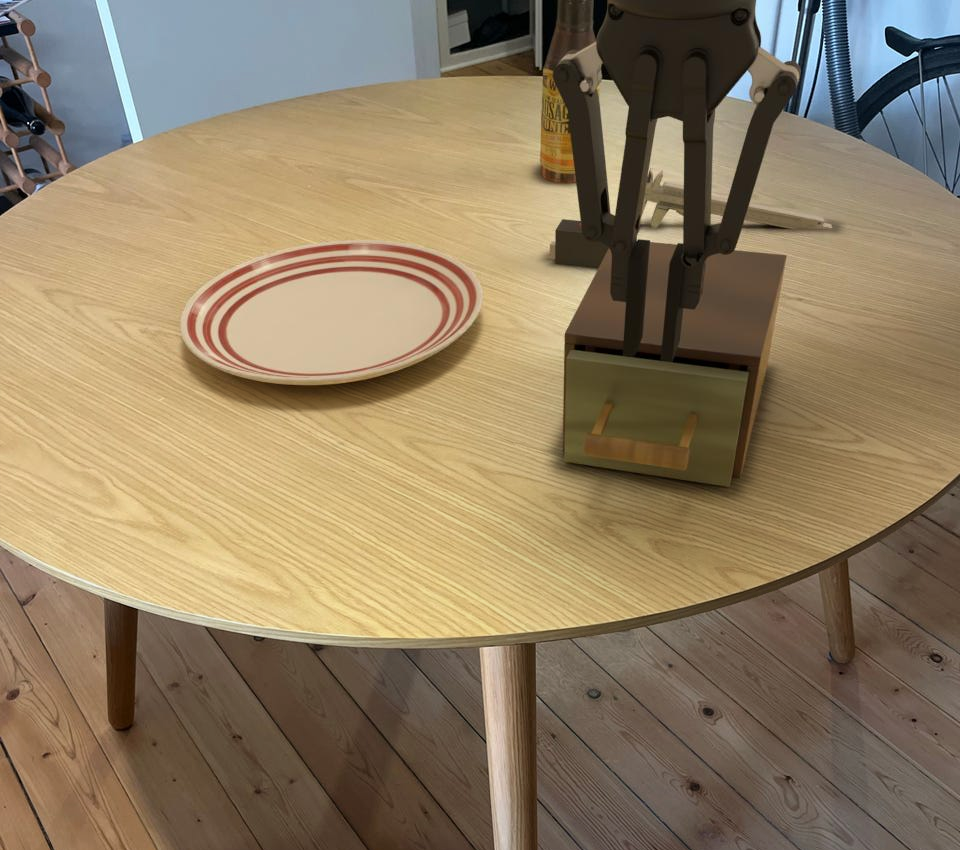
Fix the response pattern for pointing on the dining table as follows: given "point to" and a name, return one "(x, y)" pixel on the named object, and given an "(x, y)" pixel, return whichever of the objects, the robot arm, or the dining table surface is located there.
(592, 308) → the cabinet
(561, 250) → the dark grey block
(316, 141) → the dining table surface
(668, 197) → the caliper
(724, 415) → the drawer
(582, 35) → the sauce bottle
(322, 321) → the dinner plate
